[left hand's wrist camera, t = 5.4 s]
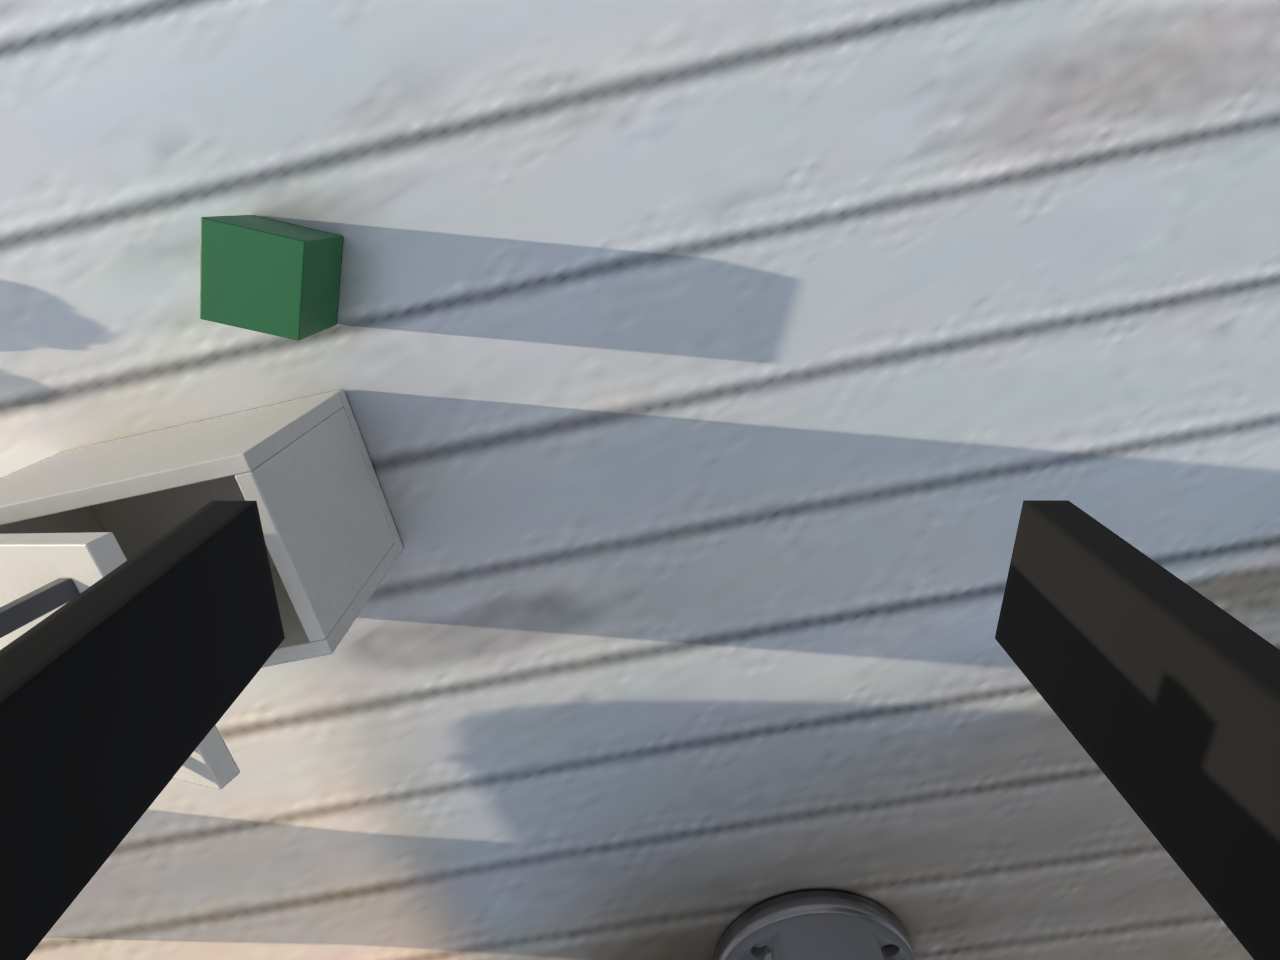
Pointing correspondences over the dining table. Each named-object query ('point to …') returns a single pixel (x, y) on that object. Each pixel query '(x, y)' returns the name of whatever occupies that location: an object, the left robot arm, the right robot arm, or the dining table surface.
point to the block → (269, 275)
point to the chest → (236, 471)
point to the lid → (55, 574)
